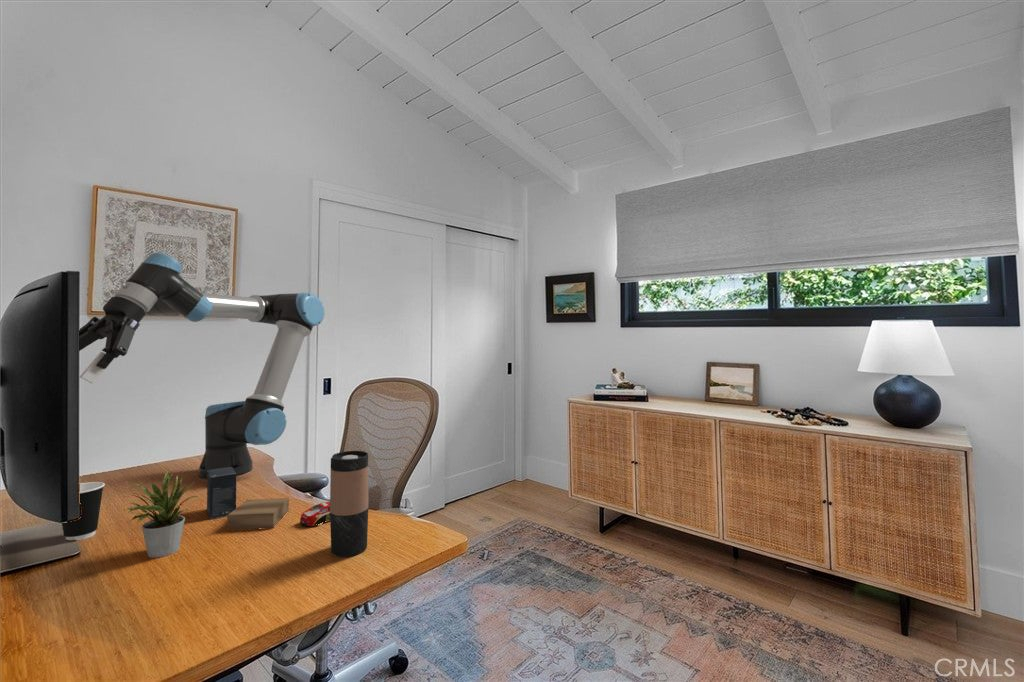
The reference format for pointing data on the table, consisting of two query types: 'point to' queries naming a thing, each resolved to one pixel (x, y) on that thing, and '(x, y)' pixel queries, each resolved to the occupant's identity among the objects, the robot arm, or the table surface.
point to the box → (221, 492)
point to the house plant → (162, 518)
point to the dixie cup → (86, 512)
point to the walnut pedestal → (258, 514)
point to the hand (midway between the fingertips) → (66, 378)
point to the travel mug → (349, 503)
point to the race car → (316, 514)
